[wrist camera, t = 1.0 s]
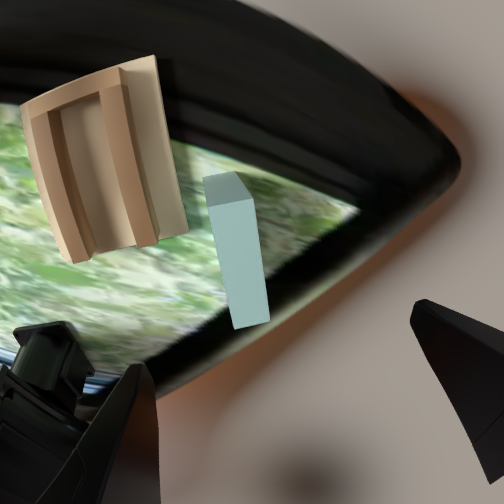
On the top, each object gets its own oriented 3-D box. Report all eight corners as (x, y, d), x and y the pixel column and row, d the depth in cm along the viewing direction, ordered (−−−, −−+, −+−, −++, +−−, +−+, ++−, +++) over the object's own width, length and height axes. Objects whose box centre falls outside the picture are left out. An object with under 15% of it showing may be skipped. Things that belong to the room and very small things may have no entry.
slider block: (222, 273, 21) (234, 329, 16) (202, 177, 18) (207, 207, 12) (249, 267, 21) (270, 320, 16) (234, 170, 18) (253, 198, 13)
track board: (69, 255, 18) (55, 275, 15) (27, 105, 13) (4, 107, 10) (188, 226, 19) (188, 245, 16) (156, 58, 14) (149, 48, 11)
